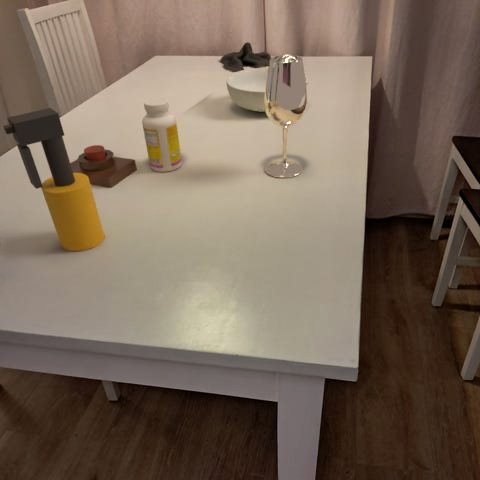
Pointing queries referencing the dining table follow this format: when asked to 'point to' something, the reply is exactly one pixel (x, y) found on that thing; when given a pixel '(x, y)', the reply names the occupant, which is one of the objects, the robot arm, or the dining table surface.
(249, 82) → the serving bowl
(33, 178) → the trigger
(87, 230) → the spray bottle
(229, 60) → the cloth
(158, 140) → the supplement bottle
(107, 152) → the button block
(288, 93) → the wineglass
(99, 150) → the button
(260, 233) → the dining table surface
